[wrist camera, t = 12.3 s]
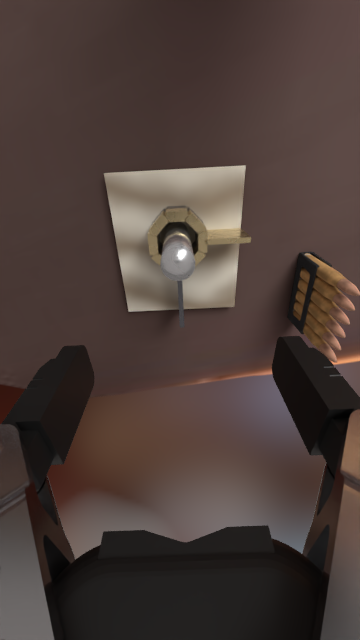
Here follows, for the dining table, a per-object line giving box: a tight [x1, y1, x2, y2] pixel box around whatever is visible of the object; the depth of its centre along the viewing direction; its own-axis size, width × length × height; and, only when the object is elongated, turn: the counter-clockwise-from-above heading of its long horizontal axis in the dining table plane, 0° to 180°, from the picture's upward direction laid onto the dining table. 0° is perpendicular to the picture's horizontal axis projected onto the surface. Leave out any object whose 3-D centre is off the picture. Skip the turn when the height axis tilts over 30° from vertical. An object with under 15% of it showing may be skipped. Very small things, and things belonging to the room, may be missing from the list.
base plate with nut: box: [104, 166, 251, 327], centre depth 30 cm, size 18×16×6 cm
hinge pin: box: [160, 222, 195, 281], centre depth 26 cm, size 3×3×12 cm
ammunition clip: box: [288, 252, 360, 362], centre depth 32 cm, size 11×2×12 cm, turn 4°
